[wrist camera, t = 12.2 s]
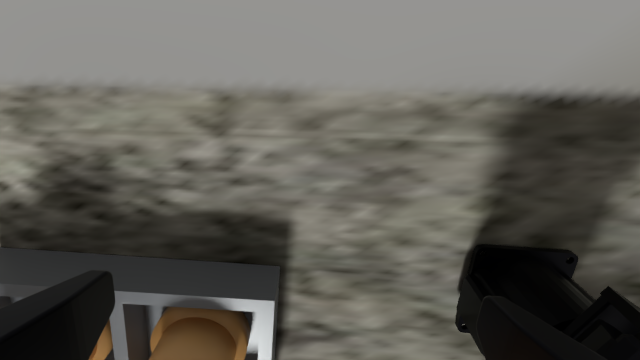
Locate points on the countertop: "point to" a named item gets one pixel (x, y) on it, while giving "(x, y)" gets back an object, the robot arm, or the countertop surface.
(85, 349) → the robot arm
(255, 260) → the countertop surface
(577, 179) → the countertop surface
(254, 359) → the gray divided tray
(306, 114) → the countertop surface
